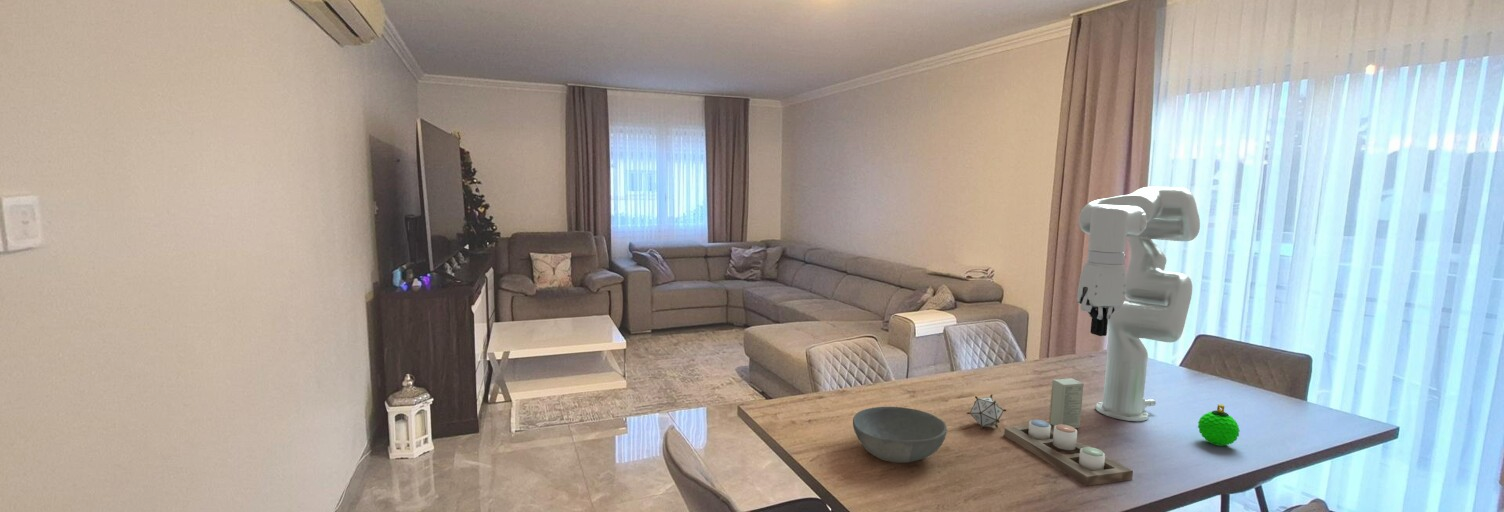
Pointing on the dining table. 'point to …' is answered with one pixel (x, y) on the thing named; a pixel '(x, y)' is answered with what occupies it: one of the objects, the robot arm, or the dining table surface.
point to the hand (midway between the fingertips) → (1098, 334)
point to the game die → (986, 411)
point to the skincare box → (1066, 402)
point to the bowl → (899, 433)
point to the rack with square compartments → (1068, 458)
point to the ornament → (1218, 427)
